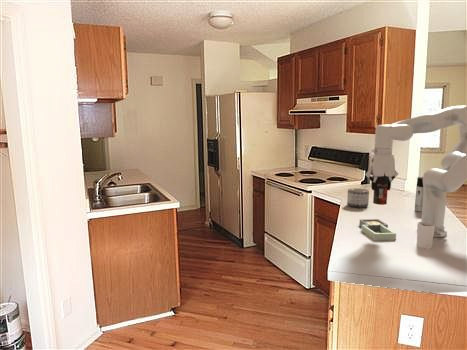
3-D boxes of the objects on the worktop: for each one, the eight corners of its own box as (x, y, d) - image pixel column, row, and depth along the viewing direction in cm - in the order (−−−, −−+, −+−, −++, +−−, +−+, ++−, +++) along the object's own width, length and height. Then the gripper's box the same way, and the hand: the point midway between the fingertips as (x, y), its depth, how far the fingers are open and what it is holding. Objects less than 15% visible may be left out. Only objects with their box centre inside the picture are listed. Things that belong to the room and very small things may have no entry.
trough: (395, 239, 161) (396, 233, 161) (374, 240, 160) (375, 234, 160) (380, 230, 175) (381, 224, 174) (361, 230, 174) (361, 224, 174)
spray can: (415, 208, 215) (418, 176, 212) (428, 210, 211) (431, 177, 208) (413, 210, 210) (415, 178, 207) (425, 212, 206) (428, 179, 203)
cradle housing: (387, 230, 174) (387, 224, 174) (368, 231, 173) (368, 225, 173) (377, 224, 184) (378, 219, 184) (359, 225, 183) (359, 219, 183)
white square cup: (413, 246, 153) (415, 224, 151) (418, 242, 158) (420, 220, 156) (430, 250, 148) (432, 227, 147) (435, 246, 153) (437, 224, 151)
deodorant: (383, 201, 168) (385, 170, 166) (388, 204, 162) (391, 172, 160) (371, 201, 168) (372, 171, 166) (376, 204, 162) (378, 172, 160)
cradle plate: (383, 228, 175) (384, 225, 175) (369, 228, 175) (369, 225, 174) (376, 223, 182) (376, 221, 182) (362, 224, 182) (363, 221, 182)
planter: (368, 209, 215) (369, 192, 213) (346, 207, 219) (347, 191, 217) (367, 204, 226) (368, 188, 225) (347, 203, 230) (348, 187, 229)
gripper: (368, 152, 157) (366, 192, 160) (405, 152, 158) (402, 191, 161) (361, 151, 164) (359, 188, 167) (396, 150, 166) (394, 188, 169)
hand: (380, 189), depth 164 cm, fingers closed on deodorant, 6 cm apart
